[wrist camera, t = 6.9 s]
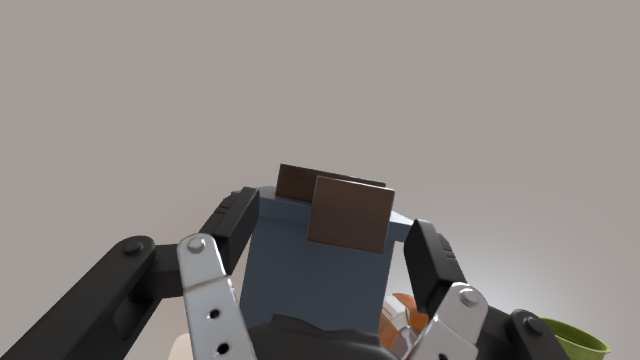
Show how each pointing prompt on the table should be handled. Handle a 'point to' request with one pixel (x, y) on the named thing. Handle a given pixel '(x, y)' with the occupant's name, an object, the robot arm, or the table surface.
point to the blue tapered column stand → (312, 271)
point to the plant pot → (577, 341)
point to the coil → (400, 324)
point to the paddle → (340, 207)
